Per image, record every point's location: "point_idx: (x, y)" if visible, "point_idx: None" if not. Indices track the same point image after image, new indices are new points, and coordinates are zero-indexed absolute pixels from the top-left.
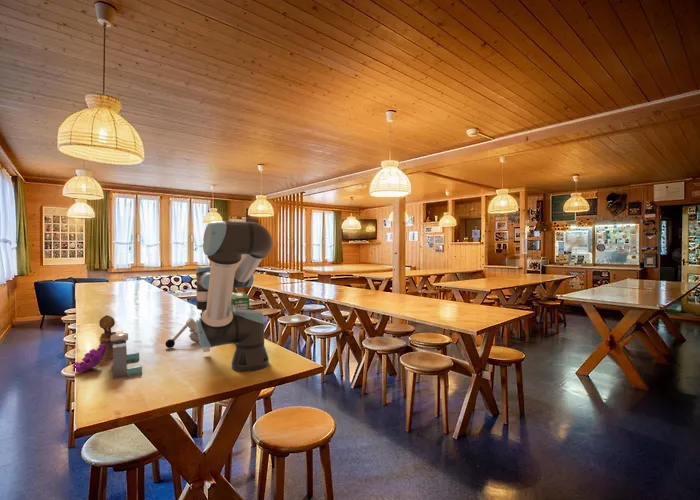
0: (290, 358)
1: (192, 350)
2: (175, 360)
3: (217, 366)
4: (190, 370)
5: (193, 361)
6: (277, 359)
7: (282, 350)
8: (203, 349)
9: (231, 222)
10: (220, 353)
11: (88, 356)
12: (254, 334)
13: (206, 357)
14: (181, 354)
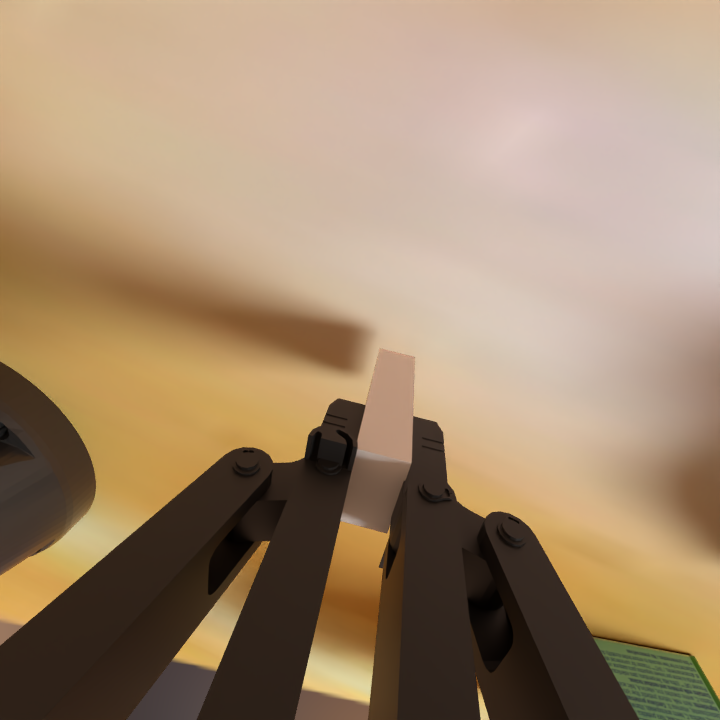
0: (21, 599)
1: (708, 349)
2: (501, 17)
3: (38, 290)
4: (18, 40)
5: (298, 190)
6: (30, 566)
7: None
8: (378, 361)
9: None
10: None
11: None
12: None
13: (338, 337)
14: (688, 189)
